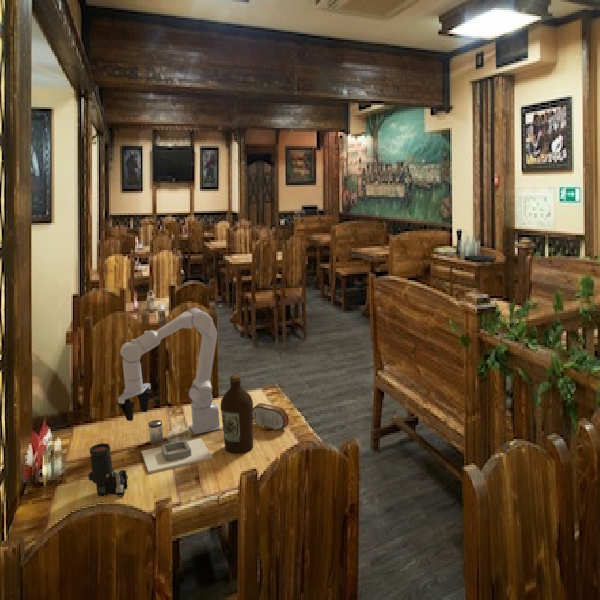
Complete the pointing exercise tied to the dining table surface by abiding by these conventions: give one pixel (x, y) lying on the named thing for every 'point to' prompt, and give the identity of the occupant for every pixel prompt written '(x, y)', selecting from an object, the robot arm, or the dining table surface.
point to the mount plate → (175, 455)
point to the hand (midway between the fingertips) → (137, 415)
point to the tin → (270, 416)
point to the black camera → (106, 472)
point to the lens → (155, 432)
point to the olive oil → (237, 418)
